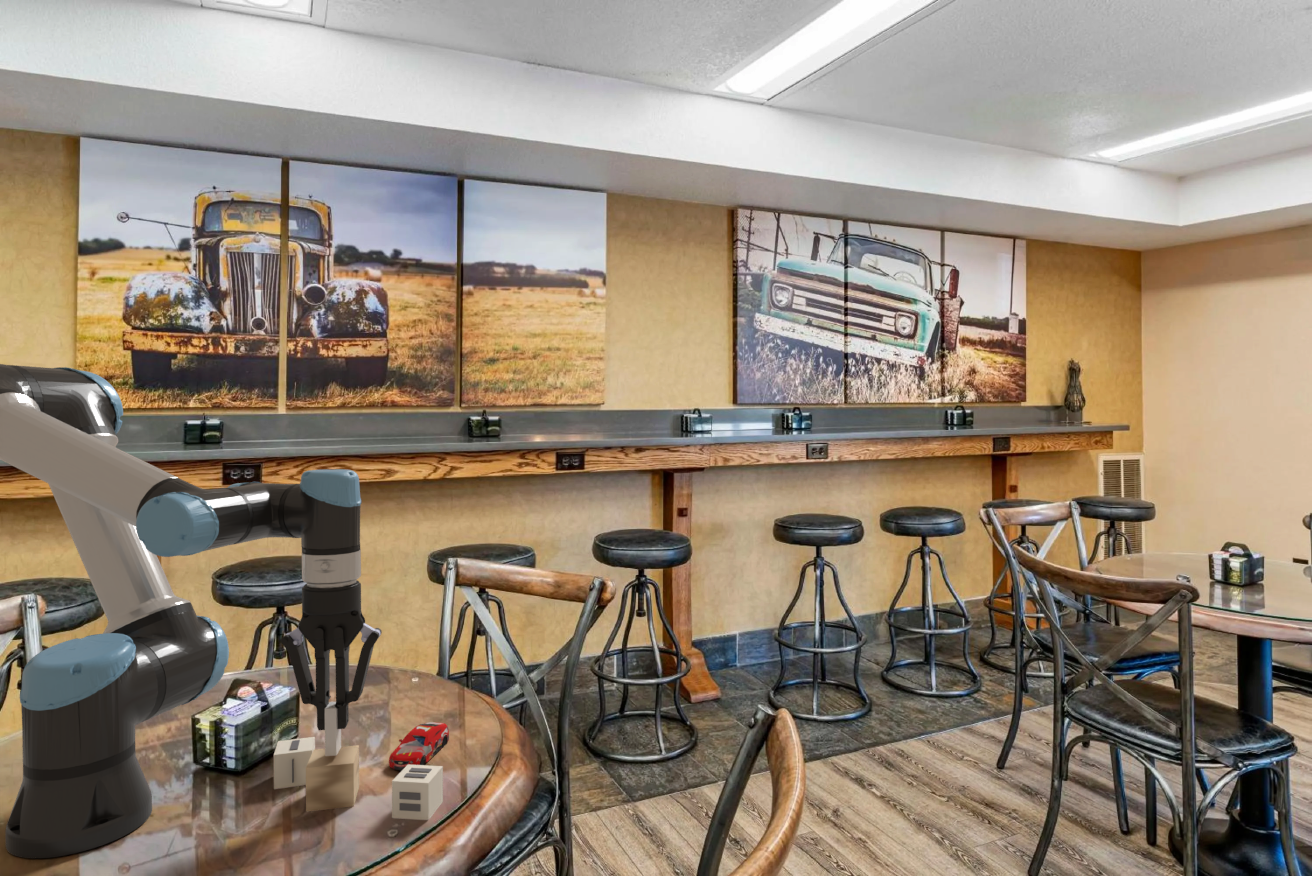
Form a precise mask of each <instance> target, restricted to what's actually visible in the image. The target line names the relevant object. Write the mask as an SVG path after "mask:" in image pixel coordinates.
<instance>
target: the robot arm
mask: <svg viewBox="0 0 1312 876" xmlns="http://www.w3.org/2000/svg"><path fill="white" fill-rule="evenodd" d="M123 408H124V407H123V403H122V400H121V398H120V394H118V392H117V390H116V389H115V388H114V386H113V385H112V384H111V383H110V381H109V382H108V381H107V380H106V379H105V378H104V377H102V376H100V375H98V374H96V373H93V372H91V371H87V370H80V369H76V368H72V367H66V366H65V367H62V366H61V367H39V366H30V365H29V366H27V365H13V364H5V363H4V364H3V363H0V461H2V462H4V463H6V464H9V465H10V466H12V467H14V468H16V469H18V470H20V471H22V472H24V473H26V474H29V475H30V476H32V477H35V478H37V479H38V480H40V481H42V482H44V483H46V484H48V486H49V488H50V489H49V490H51V493H52V496H53V497H54V500H55V502H56V505H57V506H58V509H59V512H60V513H61V516H62V519H63V520H64V523H65V525H66V527H67V530H68V532H69V534H70V537H71V539H72V541H73V543H74V546H75V548H76V550H77V552H78V554H79V555H78V556H79V558H80V559H81V562H82V564H83V566H84V569H85V571H86V573H87V575H88V578H89V580H90V583H91V584H92V588H93V589H94V591H95V594H96V596H97V600H99V601H98V602H99V603H100V606H101V608H102V610H103V612H104V614H105V617H106V620H107V625H106V627H105V628H104V631H103V633H97V634H90V635H86V636H84V637H81V638H78V637H77V638H72V639H69V640H66V641H65V640H64V641H63V642H59V643H56V644H54V645H52V646H50V647H47V648H45V649H44V650H42V651H40V652H38V653H37V654H36V655H34V656H32V657H31V658H30V659H29V661H28V662H27V663H26V664H25V666H24V667H23V671H22V677H21V680H22V681H21V690H20V692H19V703H20V705H21V730H22V732H21V733H22V734H21V735H22V736H21V737H22V781H21V784H20V787H19V790H18V793H17V796H16V799H15V800H14V804H13V807H12V810H11V811H10V815H9V817H8V820H7V823H6V826H5V848H6V851H7V852H8V853H9V854H11V855H13V856H15V857H19V858H24V859H47V858H49V859H50V858H57V857H64V856H68V855H69V856H70V855H73V854H78V853H82V852H86V851H89V850H93V849H96V848H98V847H101V846H104V845H107V844H110V843H112V842H114V841H116V840H118V839H121V838H123V837H124V836H127V835H128V834H130V833H131V832H134V831H135V830H137V829H138V828H139V827H141V826H142V825H143V824H144V823H145V822H146V821H147V820H148V819H149V818H150V817H151V815H152V812H153V794H152V790H151V788H150V786H149V783H148V781H147V779H146V777H145V774H144V772H143V770H142V767H141V765H140V763H139V760H138V758H137V755H136V754H137V753H136V752H137V751H136V726H137V725H139V724H140V723H143V722H146V721H148V720H150V719H152V718H154V717H157V716H159V715H162V714H164V713H166V712H168V711H171V710H173V709H176V708H177V707H179V706H181V705H182V706H183V705H187V704H189V703H191V702H192V701H194V700H197V699H198V698H199V697H201V696H202V695H204V694H206V693H208V692H210V691H211V690H212V689H213V688H214V687H216V685H217V684H218V683H219V682H220V680H222V678H223V676H224V675H225V670H226V667H227V666H228V663H229V656H230V648H229V641H228V638H227V635H226V632H225V631H224V629H223V628H222V627H221V625H220V624H219V623H218V622H217V621H215V620H212V619H211V618H210V617H207V616H204V615H197V614H196V611H195V609H194V606H193V604H192V602H191V601H190V600H189V599H185V598H183V597H179V596H177V595H176V594H175V593H174V591H173V589H172V586H171V584H170V582H169V580H168V577H167V575H166V573H165V571H164V569H163V567H162V564H161V562H160V560H159V557H163V558H171V557H178V556H179V557H181V556H182V557H185V556H186V557H187V556H194V555H196V554H199V553H202V552H207V551H209V550H210V551H211V550H214V549H220V548H223V547H227V546H232V545H239V544H242V543H247V542H252V541H257V540H261V539H266V538H267V539H268V538H285V539H286V538H292V539H301V543H300V544H301V546H300V547H301V581H303V582H304V583H305V584H304V585H303V586H302V587H301V613H302V616H301V619H300V620H299V622H298V627H296V628H295V629H293V630H292V631H291V630H290V631H287V633H286V634H284V635H283V636H282V637H281V639H280V643H281V644H282V646H283V647H284V648H285V650H286V651H287V653H288V654H289V659H290V662H291V665H292V669H293V670H292V671H293V672H294V673H293V674H294V676H295V681H296V684H297V688H298V691H299V694H300V698H301V702H302V704H303V705H304V704H305V705H309V704H310V705H313V706H314V707H316V727H317V730H318V731H324V748H325V756H336V755H337V754H338V752H339V750H340V748H341V747H342V730H344V729H346V728H347V726H348V723H349V721H350V719H349V717H350V716H349V715H350V714H349V704H350V703H353V702H357V701H359V699H360V698H361V696H362V694H363V691H364V689H365V688H364V687H365V683H366V679H367V674H368V670H369V667H370V663H371V659H372V655H373V651H374V647H375V644H376V642H377V641H378V640H379V638H380V636H381V635H382V632H383V631H382V629H381V628H379V627H375V628H374V627H372V626H370V625H369V624H368V623H366V619H365V617H364V615H363V612H362V584H361V582H360V581H359V580H358V579H360V577H361V576H362V558H361V557H362V552H361V507H362V506H361V504H362V498H361V492H360V491H361V487H360V478H359V477H360V476H359V474H358V473H357V472H356V471H354V470H351V469H345V468H343V469H342V468H341V469H340V468H339V469H337V468H336V469H329V468H328V469H312V470H311V469H310V470H305V471H304V472H303V473H302V474H301V476H300V482H299V483H292V484H291V483H272V482H271V483H269V482H260V481H252V482H251V481H250V482H240V483H239V482H237V483H233V484H230V485H229V486H227V487H221V488H214V489H213V488H212V489H205V488H201V487H198V486H196V485H195V484H193V483H190V482H188V481H185V480H184V479H182V478H179V476H175V475H173V474H171V473H170V472H167V471H165V470H164V469H161V468H160V467H158V466H155V465H153V464H150V463H148V462H146V461H145V460H143V459H140V458H138V457H137V456H134V455H132V454H130V453H128V452H126V451H124V450H121V449H119V448H118V447H117V445H118V443H119V438H118V436H117V434H118V433H119V432H120V429H121V427H122V425H123V420H122V419H121V417H123V416H124V409H123ZM158 556H159V557H158ZM359 633H361V638H360V639H361V642H362V643H363V645H362V647H361V649H360V654H359V658H358V661H357V665H356V670H355V674H354V678H353V681H352V685H351V690H350V648H351V647H350V645H351V644H352V643H353V642H354V640H355V639H356V638H357V636H358V635H359ZM304 638H305V639H306V640H307V642H308V643H309V644H310V645H311V646H312V648H313V649H314V660H315V684H314V680H313V676H312V672H311V669H310V665H309V662H308V657H307V655H306V651H305V647H304V645H303V642H304ZM331 650H332V651H333V652H334V659H335V661H334V662H335V701H330V699H331V698H332V695H330V694H331V692H330V691H331V690H330V688H331V686H330V685H331V683H330V682H331V681H330V680H331V679H330V678H331V677H330V653H331Z"/></svg>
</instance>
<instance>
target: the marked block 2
mask: <svg viewBox="0 0 1312 876" xmlns="http://www.w3.org/2000/svg"><path fill="white" fill-rule="evenodd" d="M443 802H444V766H443V765H427V764H425V765H410V764H408V765H407V766H406V767H405V768H404V769H403V770H400V772H399V773H398V774H397V775H396V776H395V777H394V778H393V779H392V780H391V818H392V819H400V820H401V819H403V820H418V821H429V820H430V819H431V817H432V816H433V815H434V814H435V813H436V811H437V810H438V808H439V807H440V806H441V805H442V804H443Z"/></svg>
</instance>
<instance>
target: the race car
mask: <svg viewBox="0 0 1312 876" xmlns="http://www.w3.org/2000/svg"><path fill="white" fill-rule="evenodd" d="M449 740H450V730H449V726H448V724H446V723H444V722H434V721H431V722H425V723H419V724H418V725H417V726H415V727H413V729H411V730H410V731H409V732H408V733H407V734H406V735H405V736H404V738H403V739H398V742H399V744H398V746H397V747H396V748H395V749H394V750H393V751H392V752H391V753H390V755H389V758H388V765H389V768H391V769H392V770H395V771H396V770H397V771H402V770H403V769H404V768H405V767H406V766H407V765H408V764H410V765H426V763H428V762H429V761H430V760H431V759H432V758H433V757H434V756H435V755H436V754H437V753H438V752H439V751H441V750H442V748H445V746H446V745H447V743H448V742H449Z"/></svg>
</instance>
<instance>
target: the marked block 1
mask: <svg viewBox="0 0 1312 876" xmlns="http://www.w3.org/2000/svg"><path fill="white" fill-rule="evenodd" d="M276 743H277V744H276V747H275V749H274V753H273V789H274V790H279V789H285V788H294V787H299V786H306V766H307V764H308V762H309V759H310V757H311V755H312V752H313V750H314V749H316V737H315V736H309V737H302V738H301V737H300V738H293V739H292V738H291V739H286V740H278V741H277V742H276Z"/></svg>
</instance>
